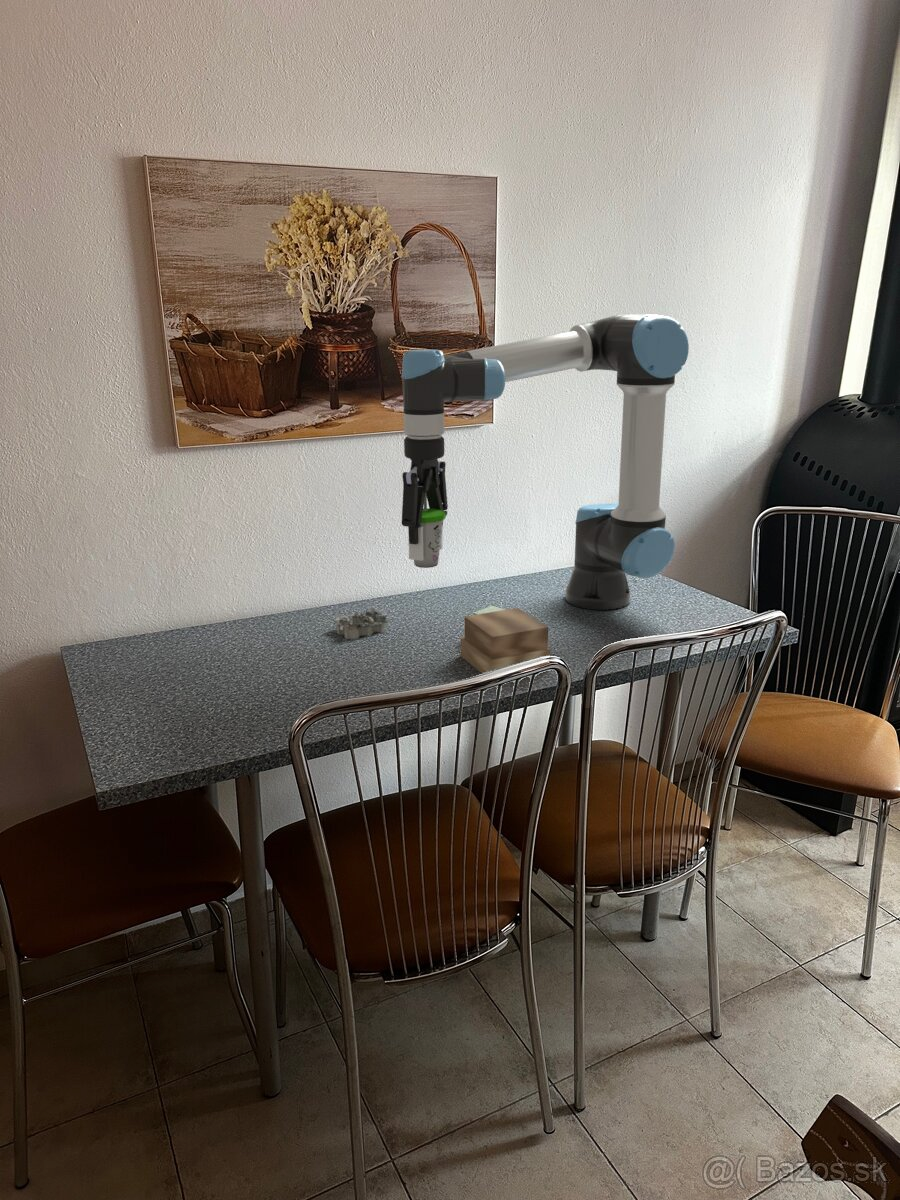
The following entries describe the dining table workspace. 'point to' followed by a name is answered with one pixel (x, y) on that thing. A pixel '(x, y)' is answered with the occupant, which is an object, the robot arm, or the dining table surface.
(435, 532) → the cup
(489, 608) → the block
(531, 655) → the block
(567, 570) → the dining table surface
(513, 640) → the tower top
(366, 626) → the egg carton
